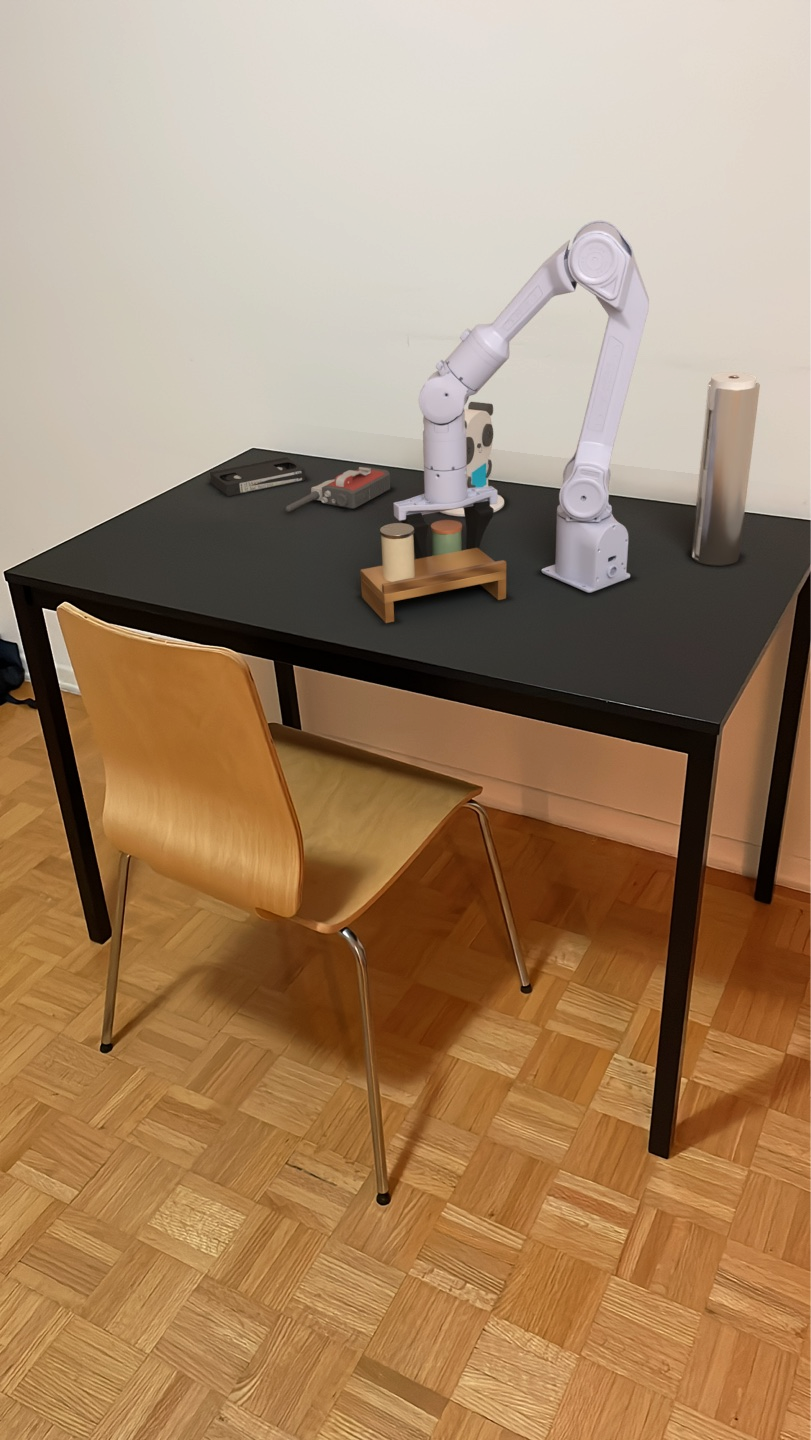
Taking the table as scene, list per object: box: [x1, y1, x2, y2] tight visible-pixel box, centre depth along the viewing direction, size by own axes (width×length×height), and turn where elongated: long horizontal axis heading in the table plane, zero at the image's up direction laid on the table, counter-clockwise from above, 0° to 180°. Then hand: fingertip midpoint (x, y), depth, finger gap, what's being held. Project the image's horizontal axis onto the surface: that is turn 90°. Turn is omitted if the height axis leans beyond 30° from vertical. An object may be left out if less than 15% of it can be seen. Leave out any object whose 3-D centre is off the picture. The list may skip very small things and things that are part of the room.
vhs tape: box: [209, 457, 306, 497], centre depth 194 cm, size 14×8×2 cm, turn 119°
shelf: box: [359, 548, 507, 624], centre depth 149 cm, size 17×9×5 cm, turn 112°
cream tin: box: [379, 522, 415, 582], centre depth 145 cm, size 4×4×6 cm
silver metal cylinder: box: [690, 371, 761, 567], centre depth 152 cm, size 6×6×25 cm
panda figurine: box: [440, 401, 505, 517], centre depth 177 cm, size 12×11×15 cm
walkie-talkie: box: [285, 466, 391, 513], centre depth 183 cm, size 9×4×20 cm
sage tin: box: [430, 519, 463, 556], centre depth 157 cm, size 4×4×6 cm
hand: (447, 559), depth 158 cm, fingers open, 7 cm apart
